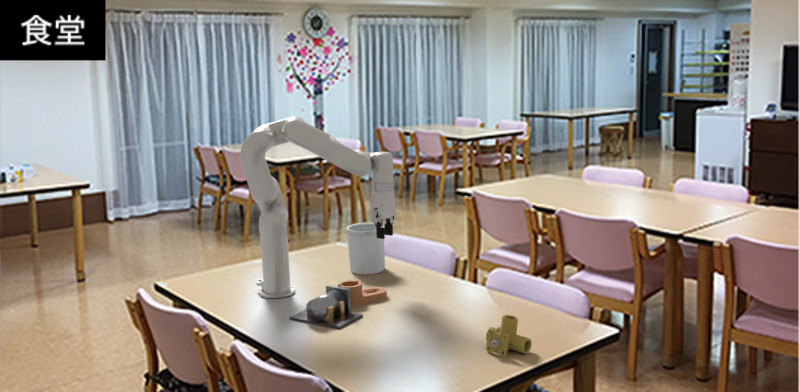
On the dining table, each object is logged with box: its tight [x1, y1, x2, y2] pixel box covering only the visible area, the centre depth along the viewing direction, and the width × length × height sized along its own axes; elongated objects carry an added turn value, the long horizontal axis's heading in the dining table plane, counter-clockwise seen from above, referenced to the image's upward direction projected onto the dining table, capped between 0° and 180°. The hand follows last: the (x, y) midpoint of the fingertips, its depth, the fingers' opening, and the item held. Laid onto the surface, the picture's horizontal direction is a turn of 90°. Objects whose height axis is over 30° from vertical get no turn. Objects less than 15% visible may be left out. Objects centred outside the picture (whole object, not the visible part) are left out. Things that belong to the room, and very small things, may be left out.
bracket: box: [337, 279, 388, 307], centre depth 276 cm, size 18×8×7 cm, turn 121°
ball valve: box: [485, 314, 533, 358], centre depth 226 cm, size 13×10×10 cm
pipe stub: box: [288, 284, 364, 330], centre depth 259 cm, size 20×14×8 cm
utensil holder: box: [346, 222, 386, 275], centre depth 313 cm, size 15×15×18 cm
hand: (384, 236), depth 286 cm, fingers open, 4 cm apart
